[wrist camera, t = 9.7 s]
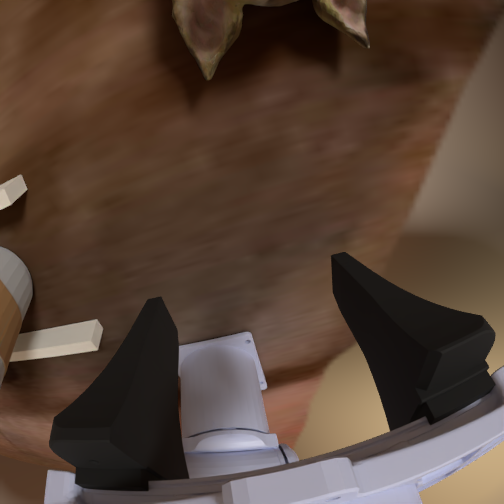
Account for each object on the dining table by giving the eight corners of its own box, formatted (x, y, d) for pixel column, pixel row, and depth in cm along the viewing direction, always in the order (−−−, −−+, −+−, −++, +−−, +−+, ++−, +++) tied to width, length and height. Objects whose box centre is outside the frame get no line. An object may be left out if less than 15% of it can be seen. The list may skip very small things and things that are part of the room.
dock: (103, 328, 25) (97, 350, 23) (6, 345, 25) (-1, 362, 23) (21, 174, 17) (4, 188, 15) (-69, 227, 17) (-84, 242, 15)
